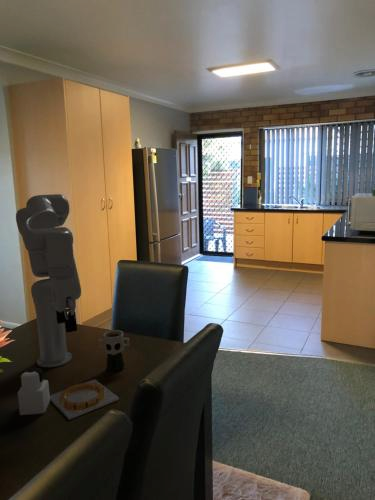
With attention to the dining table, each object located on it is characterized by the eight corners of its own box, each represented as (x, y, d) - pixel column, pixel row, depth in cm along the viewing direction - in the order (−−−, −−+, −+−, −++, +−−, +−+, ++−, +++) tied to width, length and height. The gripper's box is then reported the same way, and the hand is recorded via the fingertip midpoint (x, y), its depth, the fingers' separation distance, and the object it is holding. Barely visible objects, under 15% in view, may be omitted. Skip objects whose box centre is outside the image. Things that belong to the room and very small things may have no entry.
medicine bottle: (26, 402, 127) (22, 366, 125) (50, 400, 127) (46, 364, 125) (19, 415, 120) (14, 377, 118) (44, 413, 120) (40, 375, 118)
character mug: (98, 373, 144) (96, 338, 142) (101, 364, 151) (99, 331, 149) (130, 371, 145) (128, 336, 143) (131, 363, 152) (129, 329, 150)
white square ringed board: (48, 398, 129) (47, 392, 129) (95, 381, 139) (94, 375, 138) (68, 420, 117) (68, 413, 116) (118, 399, 126) (118, 393, 126)
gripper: (42, 269, 128) (47, 322, 131) (56, 278, 113) (62, 338, 116) (66, 265, 132) (71, 317, 135) (83, 274, 117) (88, 332, 120)
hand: (66, 326), depth 125 cm, fingers open, 9 cm apart
